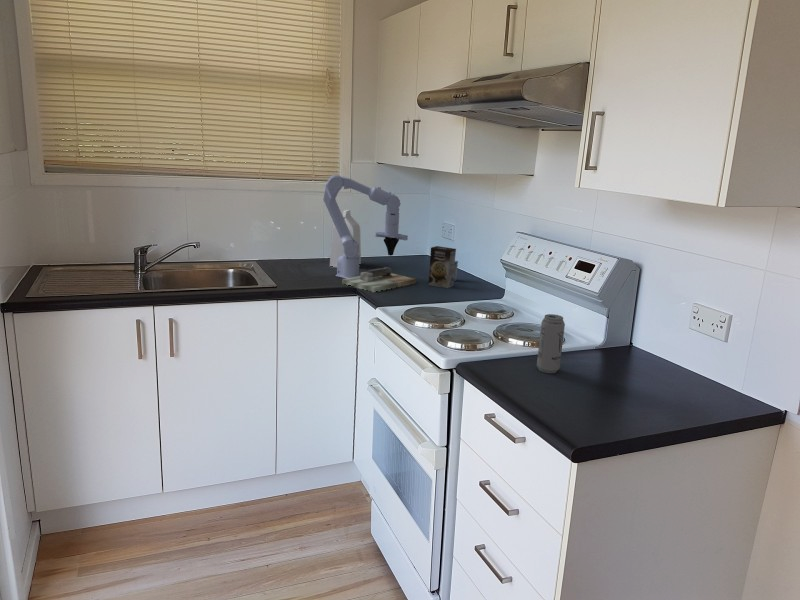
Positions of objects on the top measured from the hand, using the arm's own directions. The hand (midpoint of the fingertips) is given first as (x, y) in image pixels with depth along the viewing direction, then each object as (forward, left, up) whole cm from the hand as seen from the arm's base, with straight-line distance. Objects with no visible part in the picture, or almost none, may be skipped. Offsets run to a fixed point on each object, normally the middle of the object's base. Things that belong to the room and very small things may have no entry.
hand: (390, 255), depth 261 cm
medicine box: (+17, +19, -11) cm, 28 cm away
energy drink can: (+102, -48, -11) cm, 113 cm away
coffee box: (+22, +8, -11) cm, 26 cm away
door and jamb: (+4, -11, -10) cm, 15 cm away
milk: (-32, +4, -11) cm, 34 cm away
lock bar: (+2, -8, -8) cm, 11 cm away
